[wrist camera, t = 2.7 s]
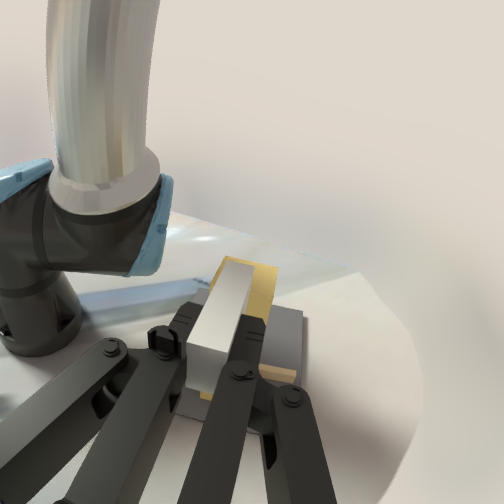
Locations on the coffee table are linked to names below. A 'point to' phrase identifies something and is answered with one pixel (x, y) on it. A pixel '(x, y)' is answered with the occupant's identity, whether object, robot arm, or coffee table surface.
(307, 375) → the coffee table surface
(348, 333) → the coffee table surface
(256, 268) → the mustard block
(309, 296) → the coffee table surface
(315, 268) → the coffee table surface
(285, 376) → the tipping mat
